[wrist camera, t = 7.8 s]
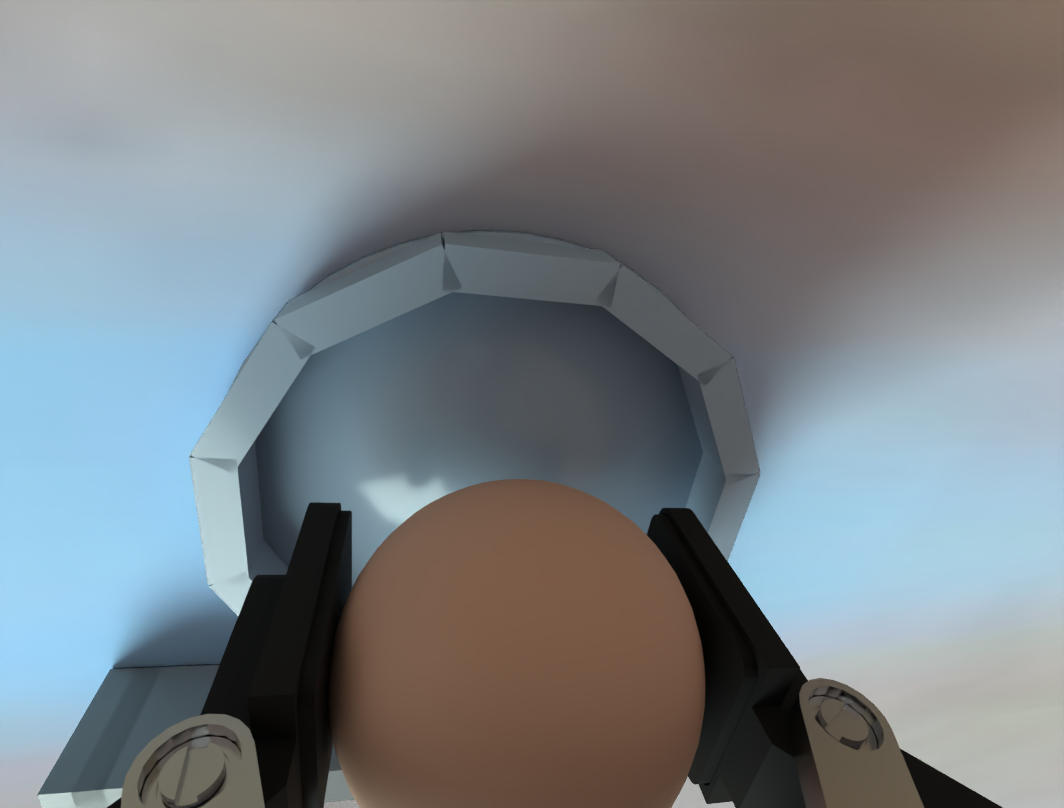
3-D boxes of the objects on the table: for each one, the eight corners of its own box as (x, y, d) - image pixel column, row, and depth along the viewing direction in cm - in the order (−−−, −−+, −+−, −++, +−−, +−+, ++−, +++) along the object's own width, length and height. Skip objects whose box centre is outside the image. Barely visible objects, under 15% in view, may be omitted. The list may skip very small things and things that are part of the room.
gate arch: (110, 669, 14) (37, 794, 11) (570, 649, 17) (597, 749, 14) (130, 743, 15) (68, 871, 13) (555, 715, 18) (577, 817, 15)
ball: (353, 409, 10) (269, 726, 5) (660, 425, 11) (865, 688, 6) (352, 645, 13) (296, 1023, 7) (603, 636, 14) (711, 952, 9)
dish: (186, 191, 10) (144, 202, 8) (789, 264, 12) (837, 282, 11) (243, 666, 15) (223, 723, 13) (659, 648, 17) (680, 695, 16)
